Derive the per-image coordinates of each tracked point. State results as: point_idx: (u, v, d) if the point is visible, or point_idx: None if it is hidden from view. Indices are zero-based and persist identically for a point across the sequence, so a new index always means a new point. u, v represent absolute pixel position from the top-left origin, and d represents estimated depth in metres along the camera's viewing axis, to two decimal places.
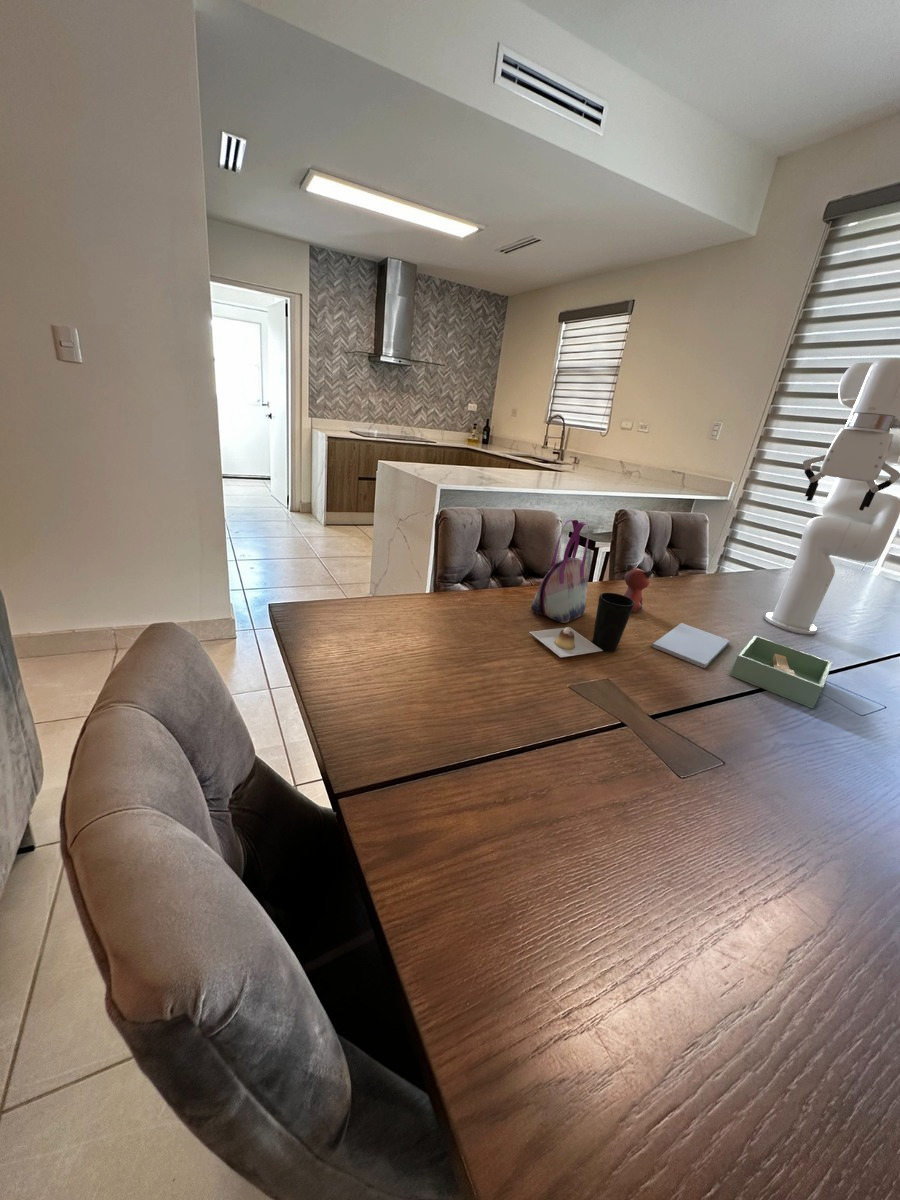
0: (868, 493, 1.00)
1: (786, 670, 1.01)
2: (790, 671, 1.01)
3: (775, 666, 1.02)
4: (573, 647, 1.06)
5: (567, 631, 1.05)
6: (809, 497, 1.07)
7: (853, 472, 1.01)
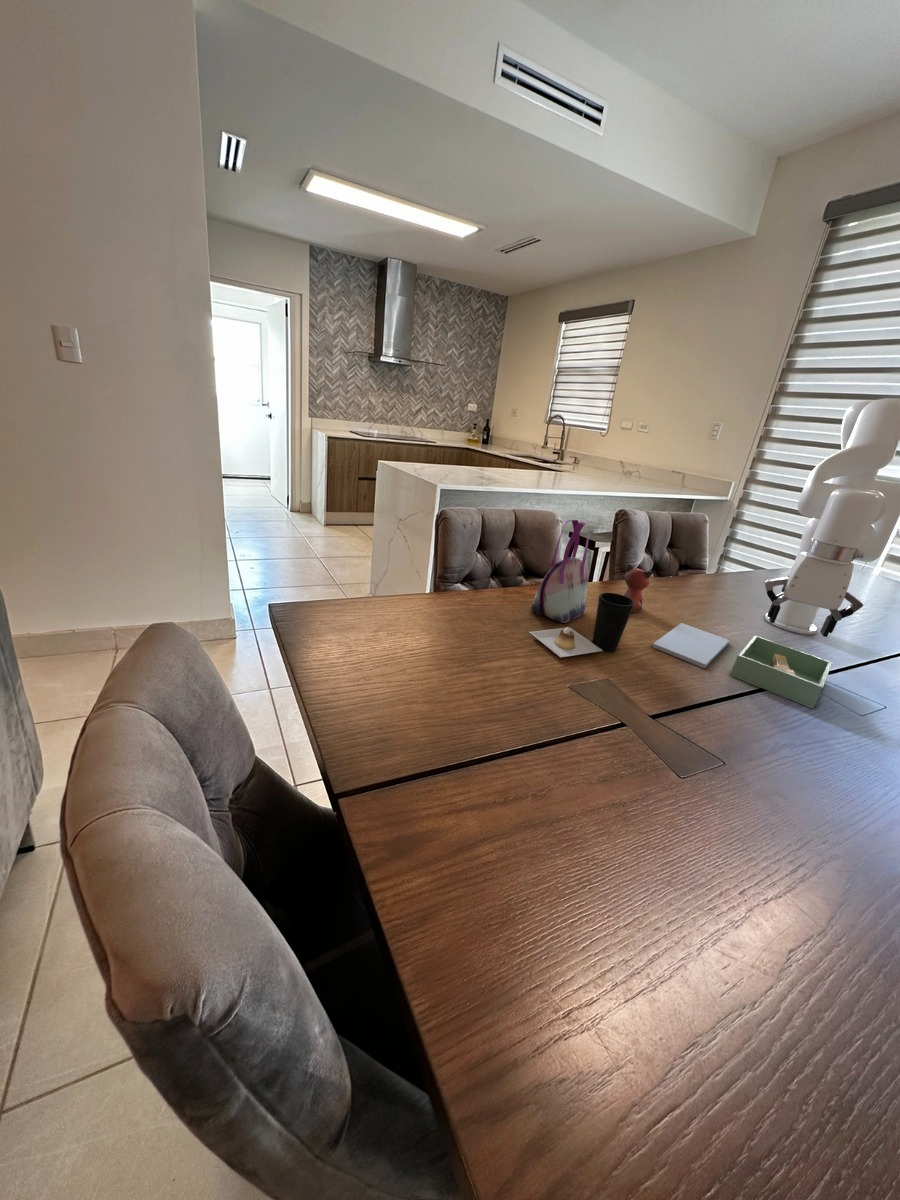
0: (832, 621, 0.97)
1: (786, 670, 1.01)
2: (790, 671, 1.01)
3: (775, 666, 1.02)
4: (573, 647, 1.06)
5: (567, 631, 1.05)
6: (773, 620, 1.02)
7: (818, 600, 0.97)
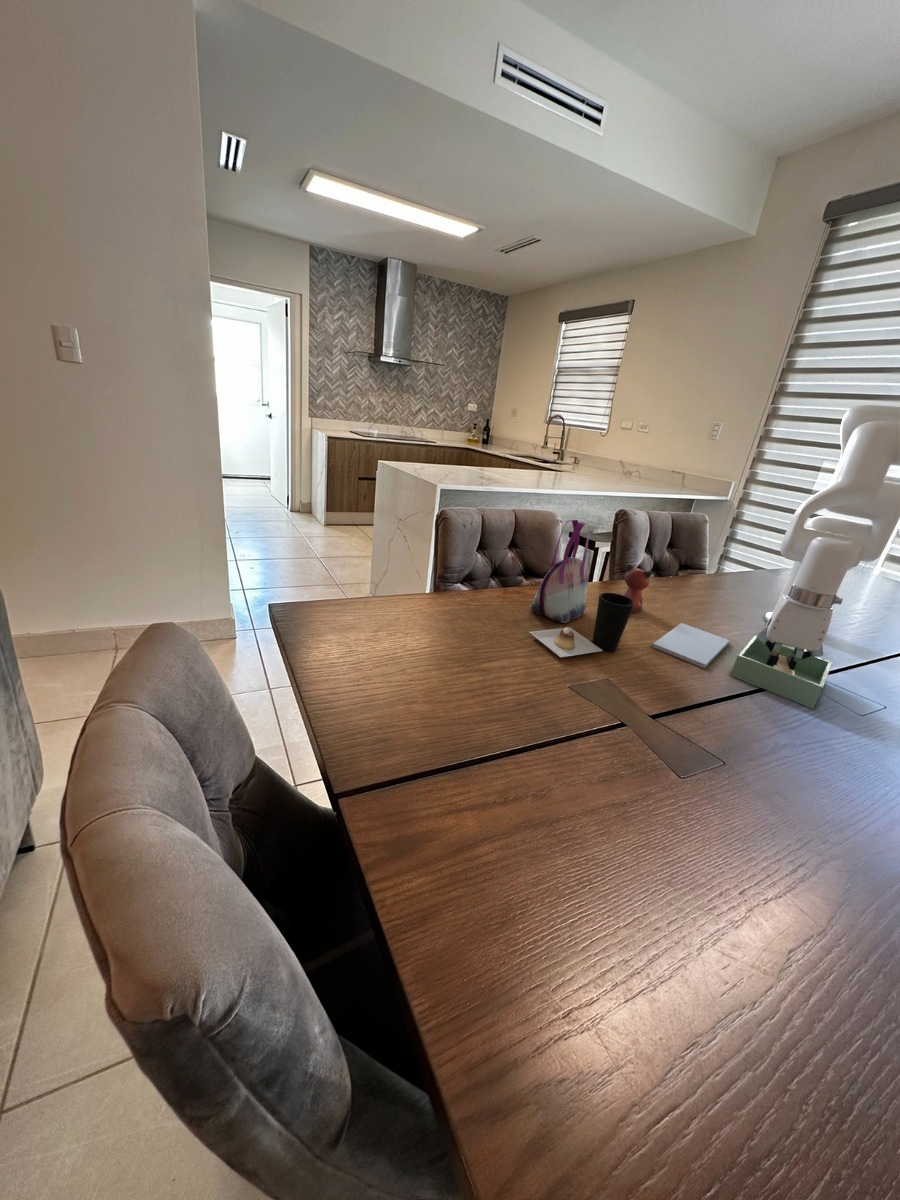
0: (791, 662, 1.03)
1: (786, 670, 1.01)
2: (790, 671, 1.01)
3: (775, 666, 1.02)
4: (573, 647, 1.06)
5: (567, 631, 1.05)
6: None
7: (798, 642, 1.00)
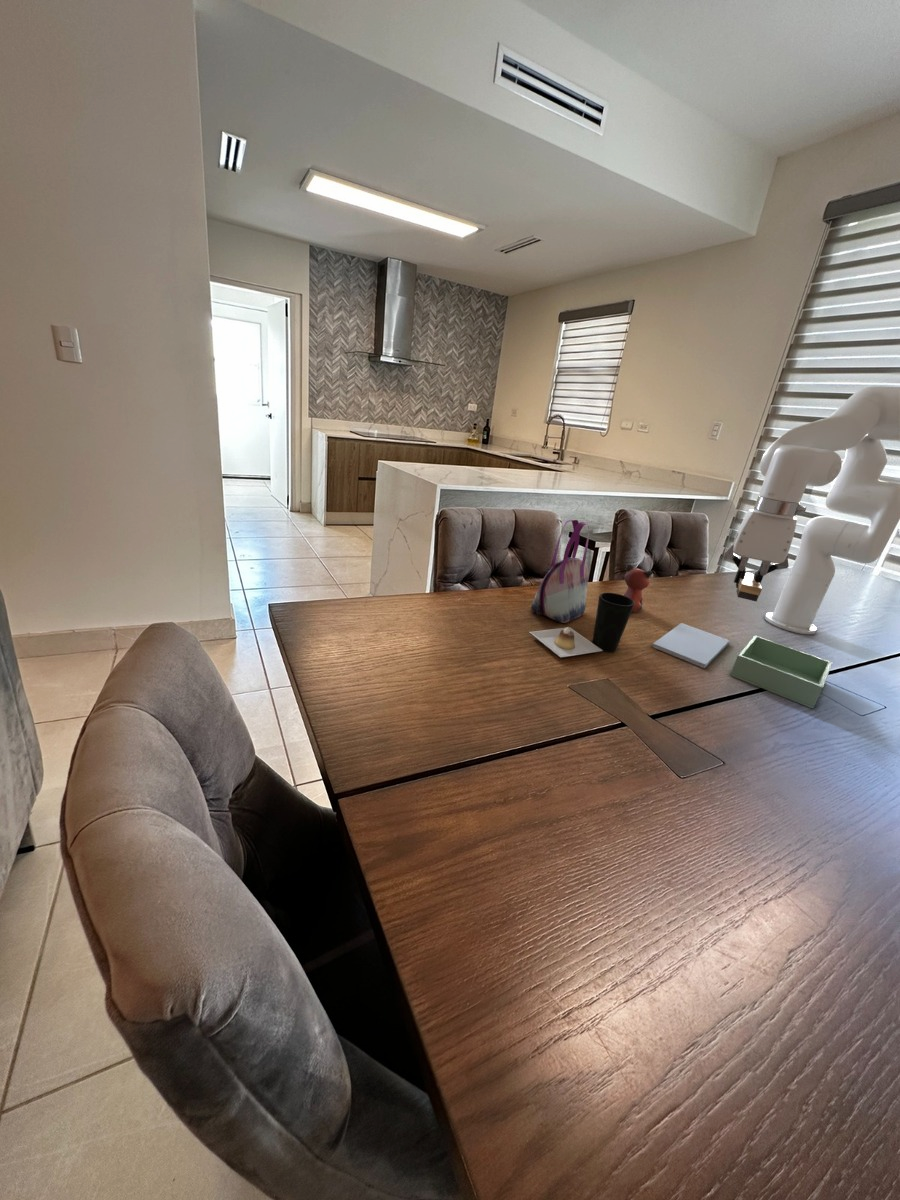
0: (758, 576, 1.03)
1: (752, 582, 1.02)
2: (756, 583, 1.01)
3: (741, 579, 1.03)
4: (573, 647, 1.06)
5: (567, 631, 1.05)
6: None
7: (764, 554, 1.01)
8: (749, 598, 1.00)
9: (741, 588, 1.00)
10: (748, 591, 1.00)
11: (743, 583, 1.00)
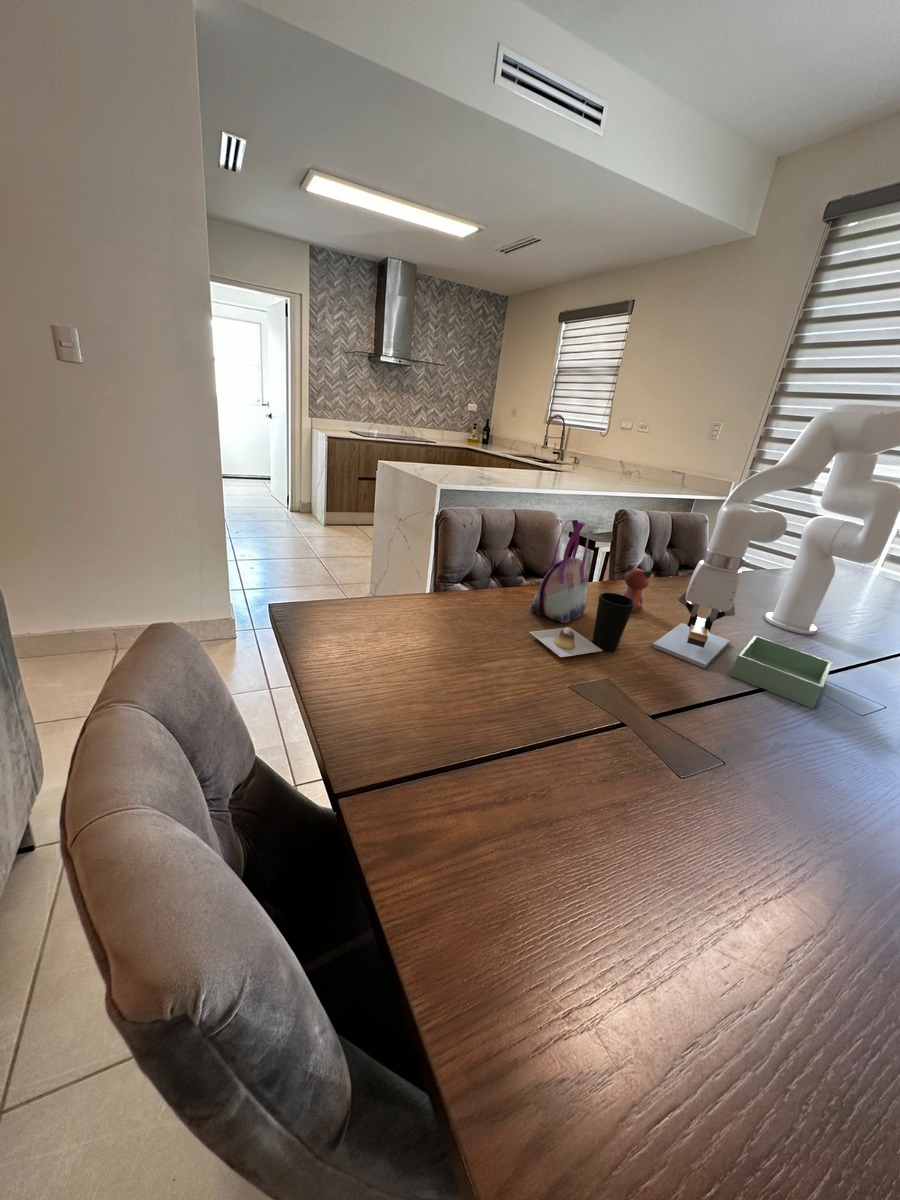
0: (708, 622, 1.12)
1: (701, 629, 1.11)
2: (704, 630, 1.10)
3: (692, 626, 1.12)
4: (573, 647, 1.06)
5: (567, 631, 1.05)
6: None
7: (713, 603, 1.10)
8: (697, 644, 1.09)
9: (690, 635, 1.09)
10: (696, 638, 1.09)
11: (692, 630, 1.09)
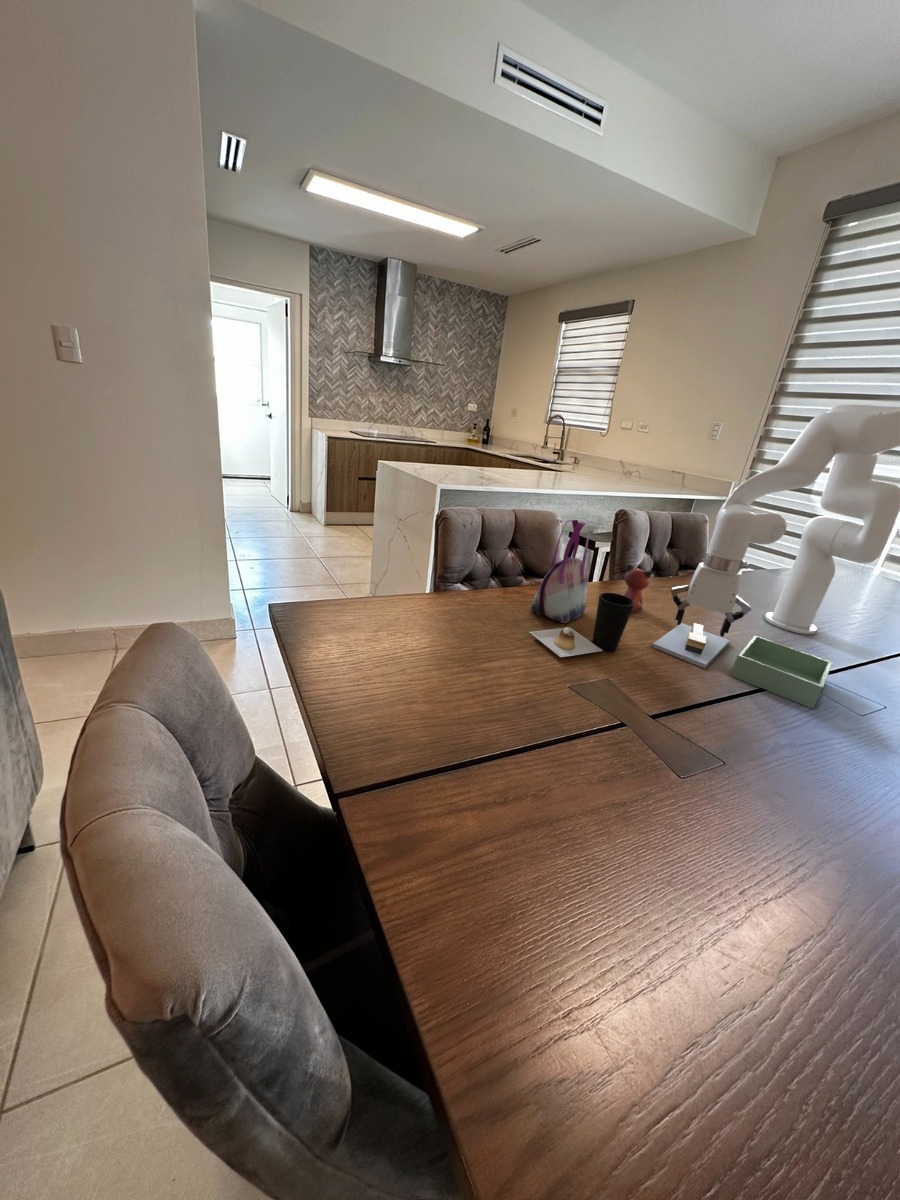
0: (726, 623, 1.11)
1: (699, 636, 1.11)
2: (702, 637, 1.11)
3: (689, 633, 1.13)
4: (573, 647, 1.06)
5: (567, 631, 1.05)
6: (679, 622, 1.16)
7: (713, 605, 1.10)
8: (695, 651, 1.10)
9: (687, 642, 1.10)
10: (694, 645, 1.09)
11: (689, 637, 1.10)
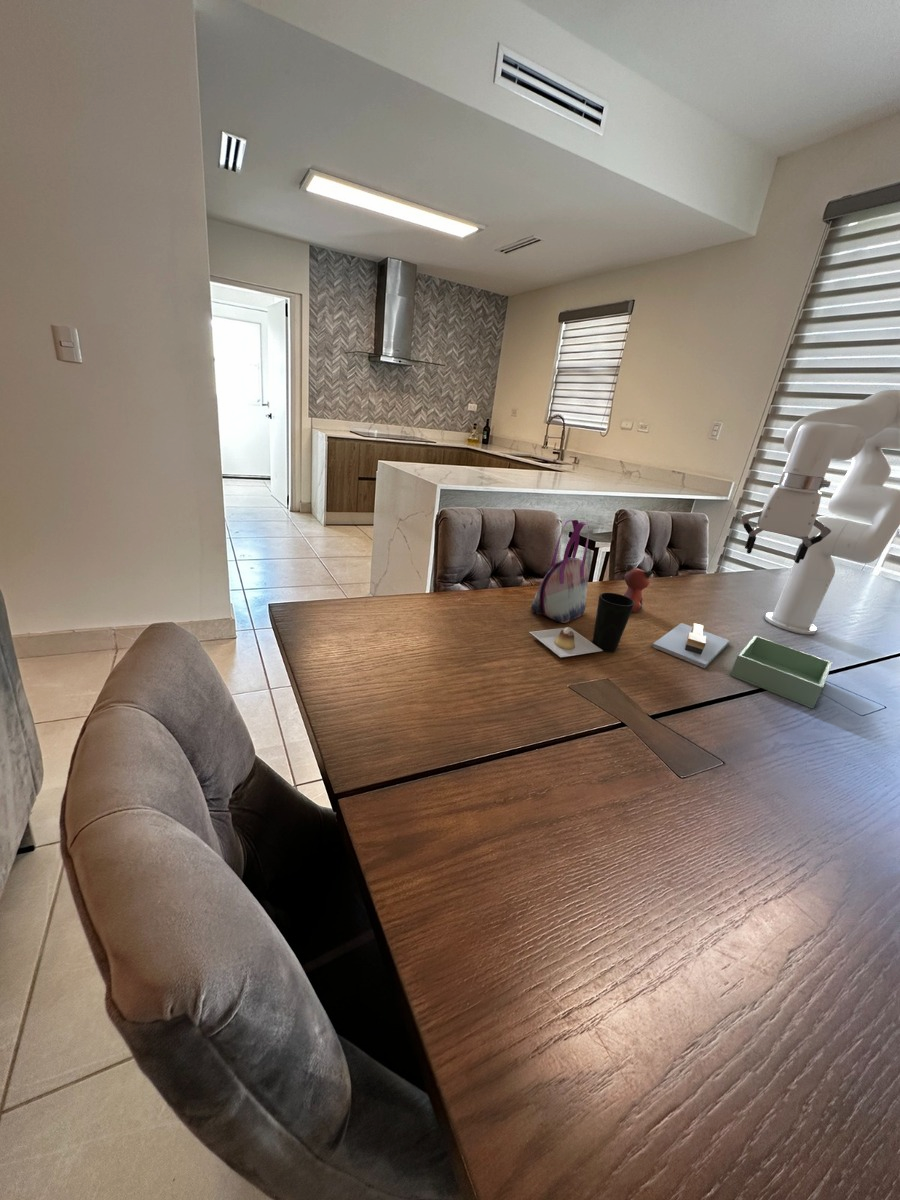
0: (803, 547, 1.05)
1: (699, 636, 1.11)
2: (702, 637, 1.11)
3: (689, 633, 1.13)
4: (573, 647, 1.06)
5: (567, 631, 1.05)
6: (749, 550, 1.10)
7: (789, 528, 1.05)
8: (695, 651, 1.10)
9: (687, 642, 1.10)
10: (694, 645, 1.09)
11: (689, 637, 1.10)
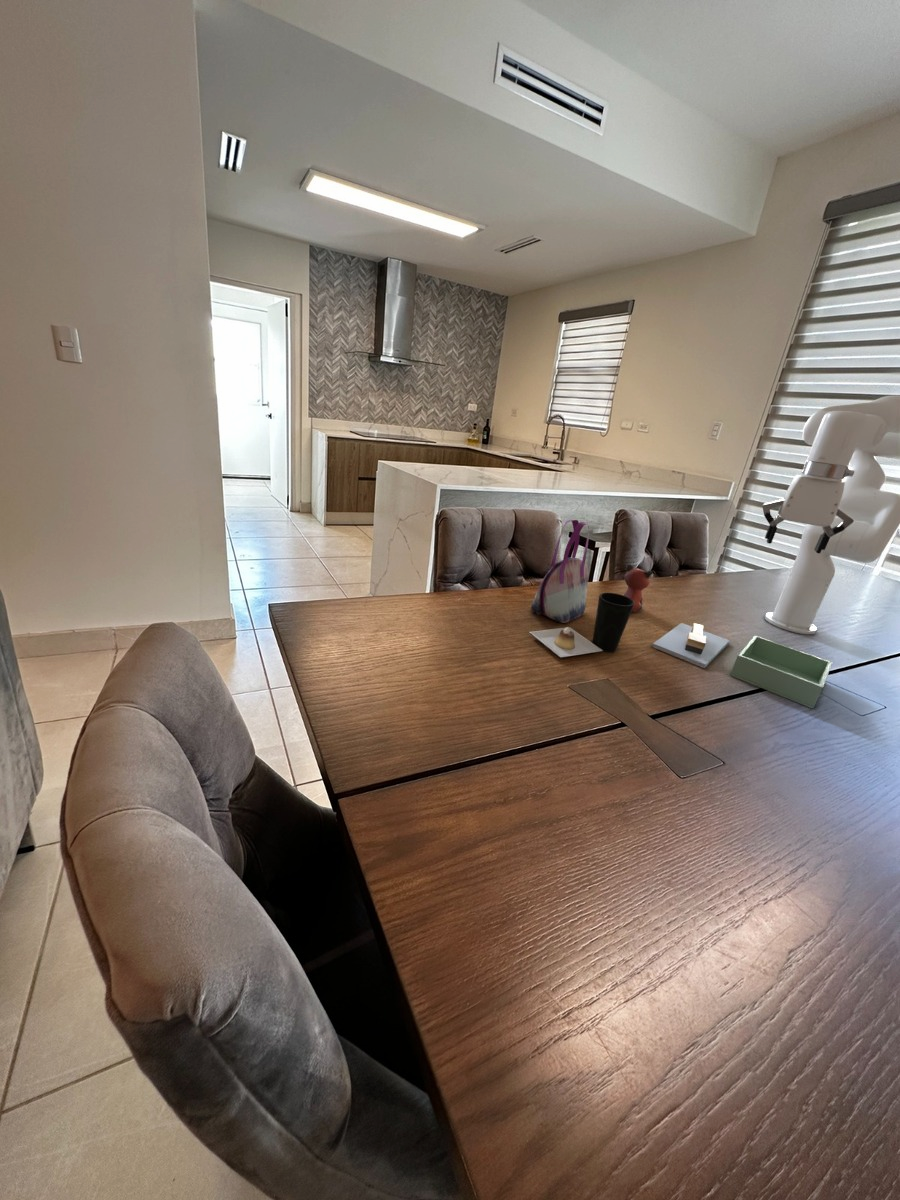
0: (825, 537, 1.05)
1: (699, 636, 1.11)
2: (702, 637, 1.11)
3: (689, 633, 1.13)
4: (573, 647, 1.06)
5: (567, 631, 1.05)
6: (770, 540, 1.09)
7: (811, 518, 1.04)
8: (695, 651, 1.10)
9: (687, 642, 1.10)
10: (694, 645, 1.09)
11: (689, 637, 1.10)
